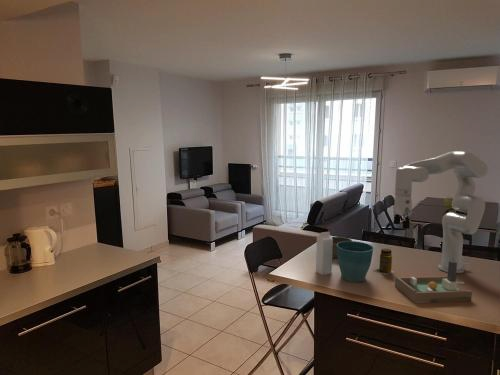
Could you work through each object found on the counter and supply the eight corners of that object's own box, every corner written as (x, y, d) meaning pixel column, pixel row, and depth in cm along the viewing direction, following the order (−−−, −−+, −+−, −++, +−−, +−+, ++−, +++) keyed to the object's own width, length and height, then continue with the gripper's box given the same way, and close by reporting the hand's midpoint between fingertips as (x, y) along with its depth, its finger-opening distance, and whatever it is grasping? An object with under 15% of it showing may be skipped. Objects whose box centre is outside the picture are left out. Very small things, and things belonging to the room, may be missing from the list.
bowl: (318, 256, 219) (319, 240, 218) (330, 249, 233) (330, 234, 232) (346, 262, 209) (347, 245, 208) (356, 254, 224) (357, 238, 222)
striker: (459, 285, 171) (461, 259, 169) (466, 289, 166) (469, 263, 164) (441, 286, 170) (443, 260, 168) (448, 290, 165) (450, 263, 163)
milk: (331, 273, 192) (333, 233, 189) (322, 275, 189) (323, 234, 186) (324, 269, 197) (326, 230, 194) (315, 271, 195) (317, 231, 192)
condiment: (394, 272, 194) (395, 250, 193) (384, 275, 190) (386, 253, 188) (383, 268, 200) (384, 247, 199) (373, 271, 196) (374, 249, 194)
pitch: (445, 284, 177) (446, 275, 177) (471, 300, 159) (472, 290, 159) (394, 286, 175) (395, 276, 174) (414, 303, 157) (415, 292, 156)
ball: (433, 287, 169) (434, 280, 168) (438, 290, 165) (439, 283, 165) (426, 287, 169) (427, 280, 168) (431, 290, 165) (431, 283, 165)
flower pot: (379, 282, 179) (381, 249, 177) (347, 286, 174) (349, 252, 172) (358, 270, 196) (360, 239, 194) (329, 273, 191) (330, 242, 189)
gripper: (419, 195, 170) (417, 230, 173) (402, 190, 187) (400, 222, 190) (404, 195, 170) (401, 230, 172) (388, 190, 187) (386, 222, 189)
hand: (401, 226), depth 181 cm, fingers open, 9 cm apart
